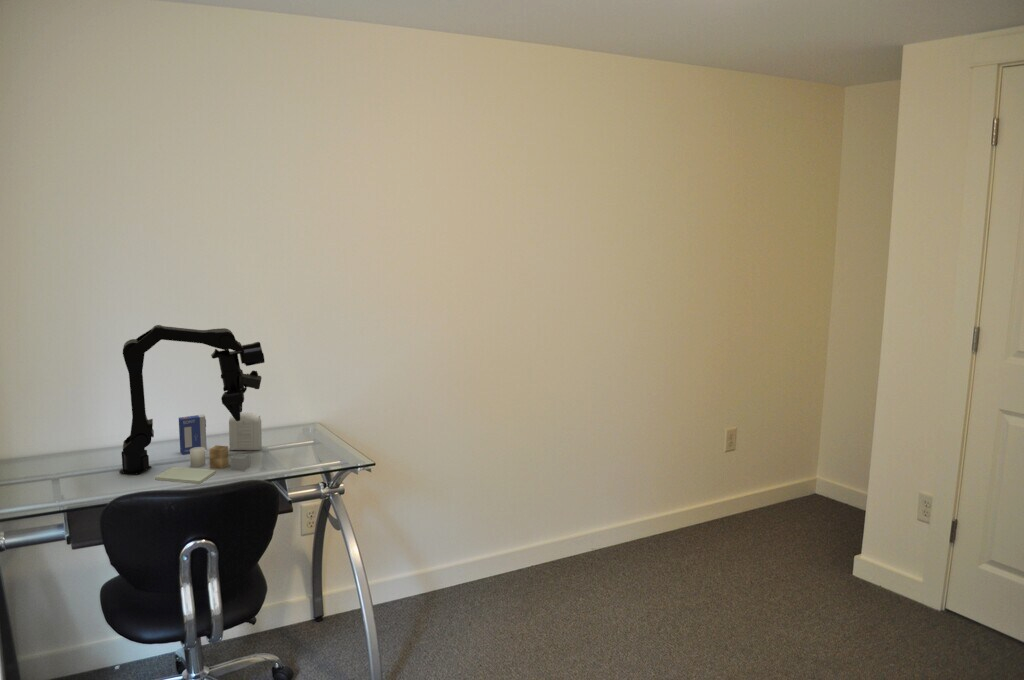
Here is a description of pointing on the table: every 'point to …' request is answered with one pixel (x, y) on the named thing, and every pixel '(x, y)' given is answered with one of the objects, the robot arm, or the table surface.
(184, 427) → the walkman
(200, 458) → the white cylinder
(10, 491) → the table surface
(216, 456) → the oak block
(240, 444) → the photo printer
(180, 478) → the sage board
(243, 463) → the grey cube
